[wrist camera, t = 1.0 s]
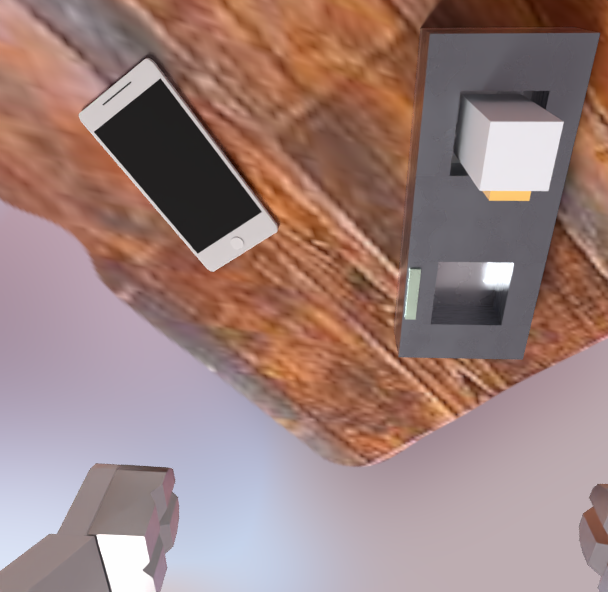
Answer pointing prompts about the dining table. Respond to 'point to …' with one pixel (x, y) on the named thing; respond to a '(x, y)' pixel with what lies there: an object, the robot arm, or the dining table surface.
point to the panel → (480, 192)
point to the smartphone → (178, 166)
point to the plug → (507, 144)
